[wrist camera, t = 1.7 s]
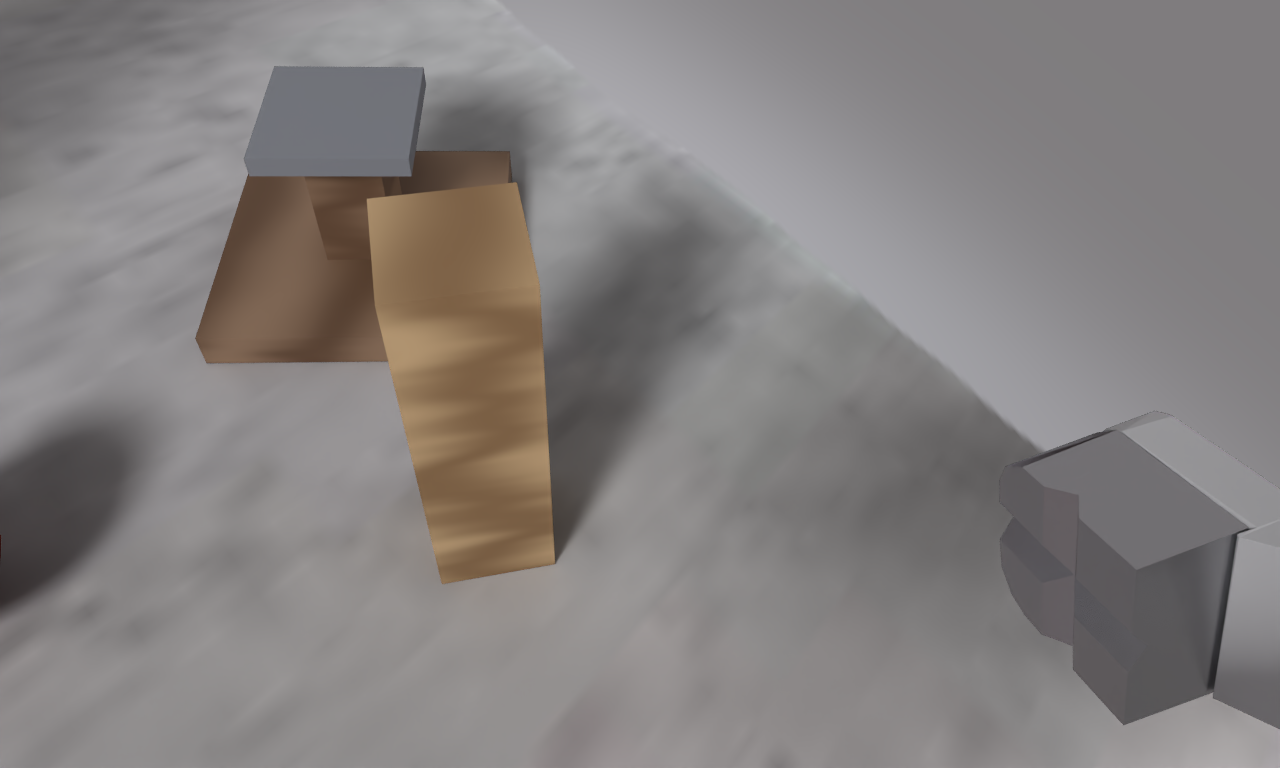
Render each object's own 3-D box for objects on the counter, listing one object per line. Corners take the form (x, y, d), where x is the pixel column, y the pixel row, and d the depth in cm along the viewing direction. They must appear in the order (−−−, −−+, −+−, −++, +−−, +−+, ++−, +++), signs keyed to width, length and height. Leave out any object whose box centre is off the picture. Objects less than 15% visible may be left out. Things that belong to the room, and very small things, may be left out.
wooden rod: (442, 583, 35) (374, 305, 24) (431, 489, 37) (366, 198, 26) (555, 563, 35) (539, 284, 24) (537, 472, 38) (516, 182, 27)
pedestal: (206, 363, 41) (137, 213, 34) (263, 175, 48) (215, 25, 42) (501, 360, 41) (485, 212, 35) (511, 176, 49) (500, 28, 43)
